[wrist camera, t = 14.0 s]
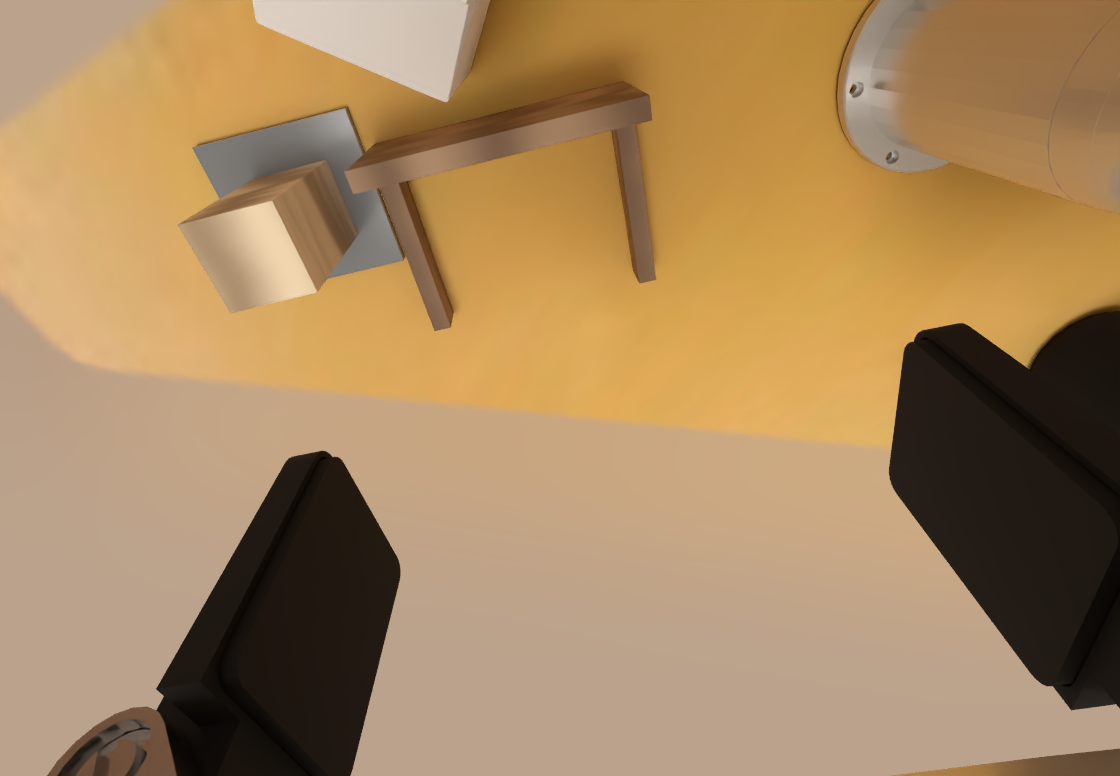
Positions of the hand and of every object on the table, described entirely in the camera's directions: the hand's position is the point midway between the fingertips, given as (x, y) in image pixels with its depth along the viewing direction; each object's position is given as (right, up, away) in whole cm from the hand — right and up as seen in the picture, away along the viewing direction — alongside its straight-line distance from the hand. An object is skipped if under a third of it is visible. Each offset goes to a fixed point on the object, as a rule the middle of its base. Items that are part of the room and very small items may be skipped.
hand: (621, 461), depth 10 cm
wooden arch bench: (-4, +13, +30) cm, 33 cm away
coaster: (-18, +14, +29) cm, 37 cm away
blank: (-18, +13, +28) cm, 36 cm away
